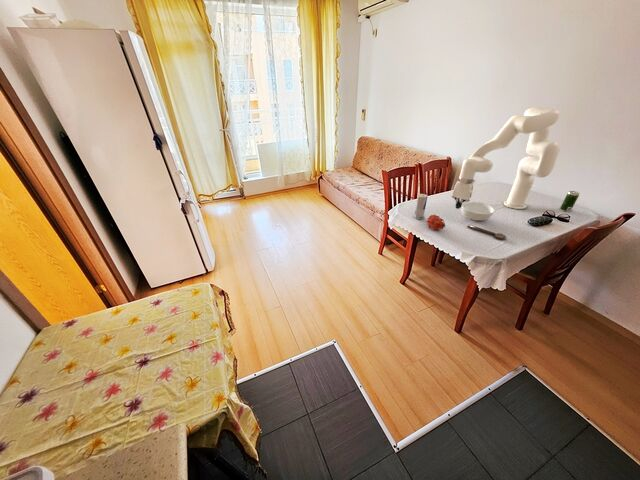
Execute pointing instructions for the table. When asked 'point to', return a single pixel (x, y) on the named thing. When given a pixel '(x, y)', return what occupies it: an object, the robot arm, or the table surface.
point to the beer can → (569, 201)
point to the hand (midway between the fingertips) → (457, 207)
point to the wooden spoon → (489, 232)
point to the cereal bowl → (477, 211)
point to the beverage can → (420, 206)
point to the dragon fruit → (435, 222)
